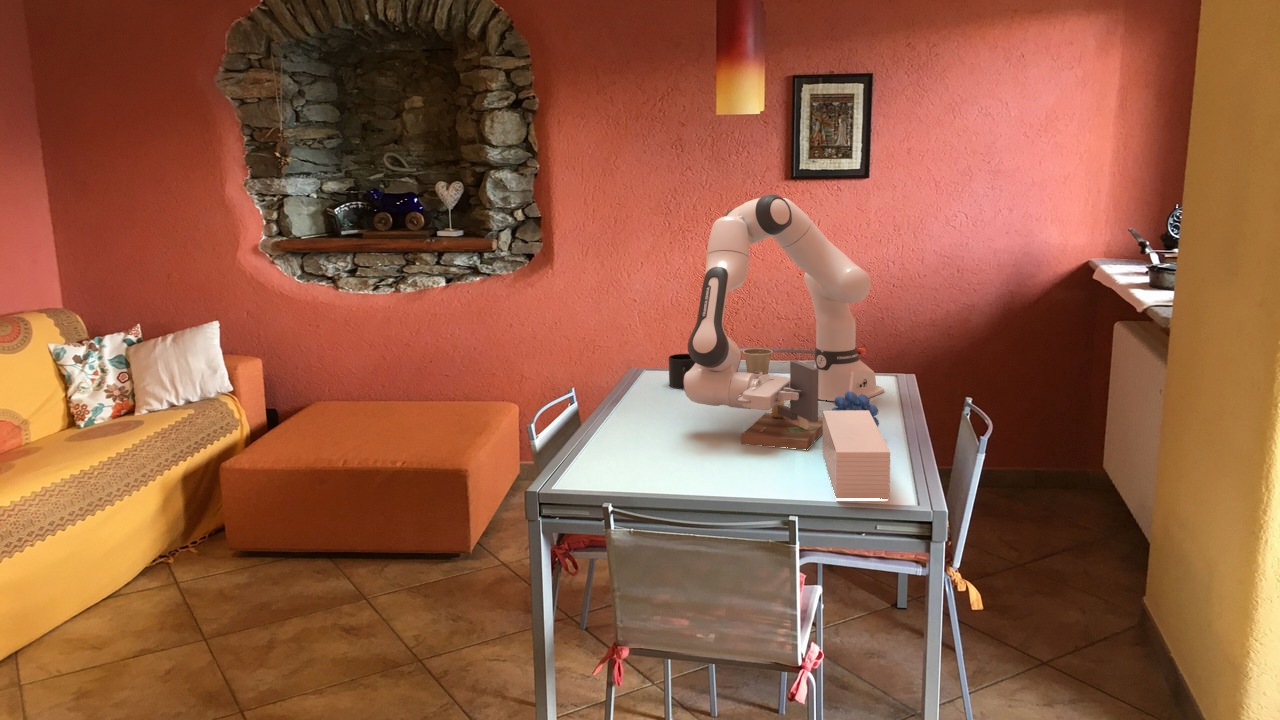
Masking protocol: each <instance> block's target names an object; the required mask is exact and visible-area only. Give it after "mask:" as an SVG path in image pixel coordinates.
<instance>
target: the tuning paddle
mask: <svg viewBox="0 0 1280 720" xmlns="http://www.w3.org/2000/svg"><path fill="white" fill-rule="evenodd" d="M789 362H790V363H789V373H790V374H789V378H790V388H791V389H794V390H800V391H802V397H801V398H799V399H798V400H789V406H787V405H785V401H780V402H778V403H777V404H776V405H775V406H774V407H772V408H771V413H772V416H773V417H784V416H785V417H787V418H789V419H791V420H797V419H798V416H799V426H800V427H801V428H803V429H808V420H809V421H811V422H818V417H819V399H818V370H819V369H817V368H814V366H812V365H809V364H806V363H803V362H801V361H799V360H790V361H789Z"/></svg>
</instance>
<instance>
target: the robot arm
mask: <svg viewBox="0 0 1280 720" xmlns="http://www.w3.org/2000/svg"><path fill="white" fill-rule="evenodd" d="M768 238H769V239H770V238H773V240H774V241H775V242H776V243H777V244H778V245H779V247H780V248H781V250H783V252H784V253H785V254H786V255H787V256H788V257H789V258H790V260H791V261H792V262H793V264H795V265H796V266H797V268H799V269H800V270H802V271H804V275H803V281H804V285H805V286H806V289H807V290H808V292H809V295H810V299H811V303H812V307H813V311H814V317H815V329H816V330H815V334H816V336H815V338H816V339H815V341H816V342H815V343H816V346H815V348H814V353H813V354H814V358H813V360H814V362H815V364H814V366H813V367H814V368H817V369H819V370H818V400H821V401H826V400H827V401H829V402H834V401H835V398H837V397H838V396H840V397H844V398H845V393H846V392H848V391H851V392H854V393H855V394H856V395H857V397H858V396H859V395H861V394H863V395H866V396H867V397H868V398H869V399H870V398H872V397H875V396H877V395H880V394H883V393H885V388H884V387H882V386H881V385H878V384H877V378H876V374H875V371H874V370H872V369H871V368H870V367H869V366H868V365H867V364H866V363H864V362H863V361H862V360H861V358H860V355H861V356H865V355H866V351H867V350H866V348H864V347H858V348H857V347H856V333H857V332H856V320H855V317H854V315H853V314H852V312H851V310H850V309H851V308H850V305H849V304H853V303H859V302H862V301H863V300H864V299H865V298H867V297H868V295H869V294H870V291H871V286H872V280H871V276H870V275H869V273H868V272H867V271H866V270H864V269H862V268H861V267H860V266H859V265H857V264H856V263H855V262H854V261H853V260H851V259H850V257H848V256H847V255H846V254H845V253H844V252H843V251H842V250H840V249H839V248H838V247H837V246H836V245H835V244H834V243H832V242H831V241H830V240H829V239H828V238H827V237H826V235H824V234H823V232H822V231H821V230H820V229H819V228H818V227H817V225H816V224H815V223H814V222H813V220H812V219H811V218H810V217H809V215H807V213H805V212H804V211H803V210H802V208H800V207H799V206H798V205H796V204H795V203H794V202H793V201H791V200H790V199H788V198H786V197H782V196H780V195H778V194H766V195H762V196H761V197H758V198H754V199H752V200H748V201H746V202H744V203H743V204H741V205H739V206H737V207H735V208H730V210H728V211H727V212H725V214H724V215H723V216H721V217H718V218H717V219H716V220H715V221H714V223H713V224H712V227H711V230H710V234H709V237H708V244H707V249H706V258H705V259H706V260H705V272H704V277H703V278H704V279H703V282H702V286H701V295H700V299H699V308H698V312H697V313H698V314H697V319H696V322H695V323H696V324H695V326H694V328H693V329H692V331H691V334H690V336H689V339H688V342H687V352H688V354H689V355H690V357H691V359H692V360H693V361H694V362H695V364H694V366H693V367H692V368H691V369H690V370H689V371H688V372H686V374H685V376H684V380H683V385H684V389H683V390H684V393H685V396H686V397H687V399H688V400H690V401H691V402H693V403H696V404H698V405H699V404H700V405H706V406H713V407H714V406H715V407H720V406H728V407H730V408H735V409H736V408H737V409H746V410H752V409H754V410H761V411H769V410H772V407H774V406H775V405H776V404H777V403H778V402H780V401H784V402H786V401H790V400H798V399H799V398H801V397H802V391H800V390H794V389H791V388H790V377H787V376H783V375H782V376H781V375H775V374H768V375H767V374H765V375H763V373H762V372H752V373H747V372H738V371H739V369H740V365H741V360H742V350H741V349H740V346H739V345H738V344H737V343H736V342H735V341H734V340H733V339H731V337H729V336H728V335H727V334H726V332H725V329H724V318H725V317H724V316H725V310H726V309H725V308H726V301H727V298H728V294H729V292H732V291H736V290H738V289H739V288H740V287H741V286H743V284H745V282H746V279H747V275H748V272H749V271H748V270H749V264H750V245H752V244H753V245H754V244H757V243H760V242H762V241H764V240H767V239H768Z"/></svg>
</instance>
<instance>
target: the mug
mask: <svg viewBox="0 0 1280 720" xmlns="http://www.w3.org/2000/svg"><path fill="white" fill-rule="evenodd" d="M694 364H695V362H694V361H693V360H692V359H691V357H690V355H689V353H676V354H671V355H670V356H668V383H669V386H670V387H671V388H675V389H680V388H681V389H683V390H684V385H683V380H684V376H685V374H686V372H688V371H689V370H690V369H691V368H692V367H693V366H694Z"/></svg>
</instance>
